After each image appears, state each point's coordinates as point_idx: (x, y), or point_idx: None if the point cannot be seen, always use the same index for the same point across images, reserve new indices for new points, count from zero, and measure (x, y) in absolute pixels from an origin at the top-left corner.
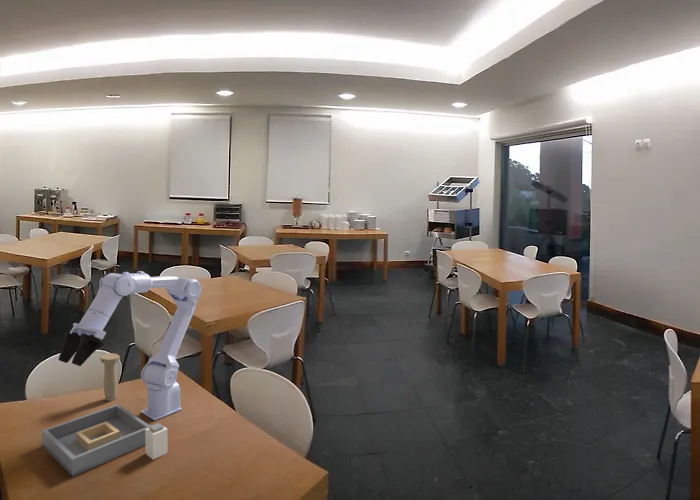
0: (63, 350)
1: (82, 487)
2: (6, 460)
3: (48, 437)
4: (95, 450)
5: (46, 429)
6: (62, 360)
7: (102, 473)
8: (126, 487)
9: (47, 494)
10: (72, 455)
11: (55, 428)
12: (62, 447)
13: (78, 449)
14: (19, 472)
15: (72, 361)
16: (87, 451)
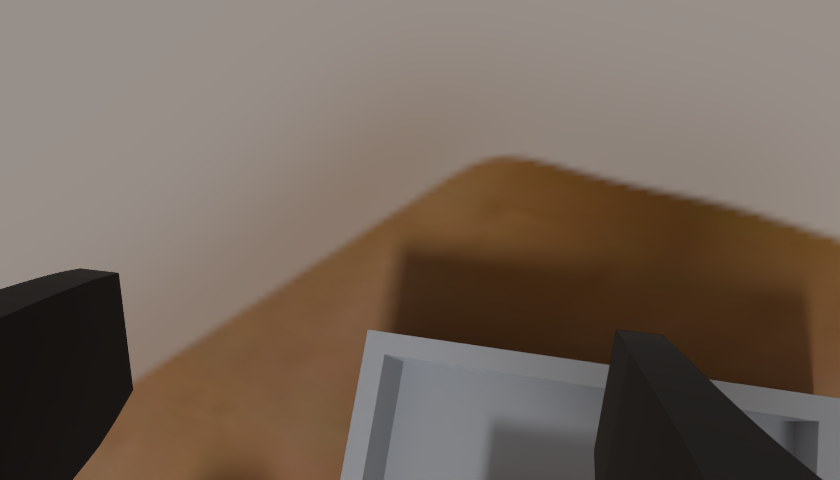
0: (659, 421)
1: (294, 325)
2: (808, 233)
3: (718, 381)
4: (347, 445)
5: (836, 423)
6: (606, 382)
7: (305, 428)
8: (143, 422)
9: (372, 226)
10: (401, 350)
11: (814, 470)
12: (521, 362)
13: (562, 472)
14: (634, 226)
15: (89, 276)
16: (371, 414)
